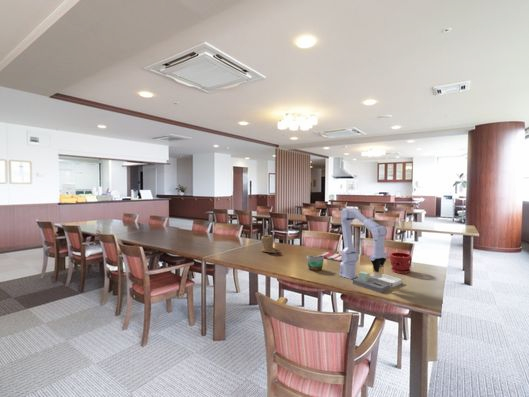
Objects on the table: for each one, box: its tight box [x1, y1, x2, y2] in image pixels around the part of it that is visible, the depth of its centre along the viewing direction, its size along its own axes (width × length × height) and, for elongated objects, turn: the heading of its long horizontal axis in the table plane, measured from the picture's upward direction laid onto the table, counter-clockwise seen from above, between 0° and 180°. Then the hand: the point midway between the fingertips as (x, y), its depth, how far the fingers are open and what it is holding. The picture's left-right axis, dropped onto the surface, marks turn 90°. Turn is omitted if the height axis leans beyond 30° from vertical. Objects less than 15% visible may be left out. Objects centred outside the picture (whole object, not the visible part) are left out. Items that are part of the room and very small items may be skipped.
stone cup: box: [261, 234, 281, 254], centre depth 245 cm, size 15×12×15 cm
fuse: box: [358, 270, 370, 282], centre depth 168 cm, size 5×3×7 cm, turn 38°
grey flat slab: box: [352, 277, 390, 294], centre depth 165 cm, size 18×9×2 cm, turn 38°
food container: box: [306, 254, 325, 272], centre depth 194 cm, size 12×6×10 cm, turn 82°
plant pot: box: [389, 251, 412, 275], centre depth 192 cm, size 13×13×12 cm
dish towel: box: [317, 251, 342, 263], centre depth 228 cm, size 17×23×3 cm
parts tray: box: [369, 273, 403, 288], centre depth 172 cm, size 16×12×2 cm
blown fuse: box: [372, 264, 385, 278], centre depth 161 cm, size 5×3×7 cm, turn 38°
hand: (378, 271), depth 161 cm, fingers closed on blown fuse, 3 cm apart
